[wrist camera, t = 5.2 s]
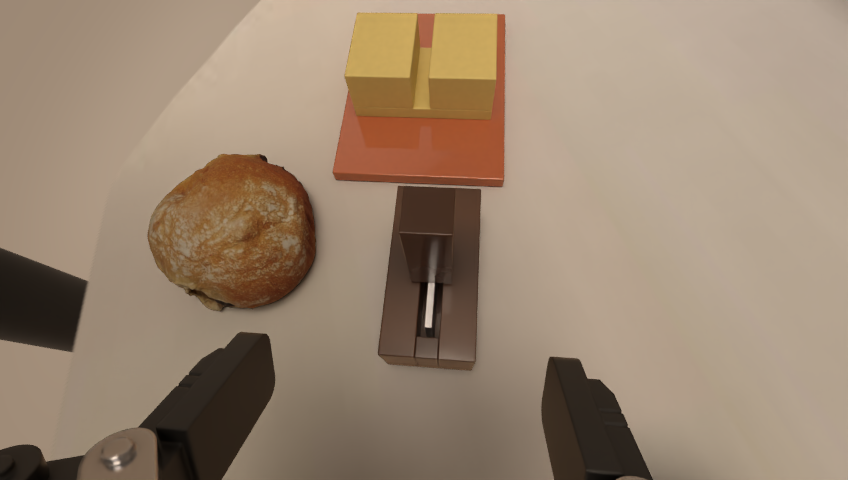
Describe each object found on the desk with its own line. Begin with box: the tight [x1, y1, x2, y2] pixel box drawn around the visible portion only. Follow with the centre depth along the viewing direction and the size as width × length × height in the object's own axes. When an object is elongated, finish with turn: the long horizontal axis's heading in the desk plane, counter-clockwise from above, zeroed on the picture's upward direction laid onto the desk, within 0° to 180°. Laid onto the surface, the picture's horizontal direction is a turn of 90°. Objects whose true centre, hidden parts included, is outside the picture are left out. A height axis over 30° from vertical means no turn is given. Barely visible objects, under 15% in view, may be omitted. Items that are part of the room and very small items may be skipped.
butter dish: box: [333, 14, 505, 187], centre depth 32 cm, size 16×12×1 cm
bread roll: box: [148, 154, 316, 311], centre depth 27 cm, size 10×10×8 cm
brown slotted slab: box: [378, 186, 481, 371], centre depth 25 cm, size 10×5×4 cm, turn 175°
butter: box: [345, 13, 497, 120], centre depth 30 cm, size 6×10×4 cm, turn 85°
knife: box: [398, 186, 456, 337], centre depth 21 cm, size 7×2×10 cm, turn 175°
